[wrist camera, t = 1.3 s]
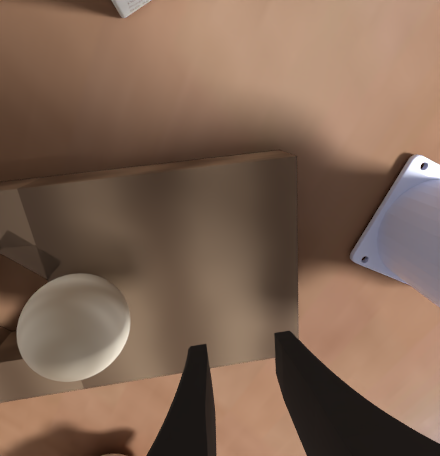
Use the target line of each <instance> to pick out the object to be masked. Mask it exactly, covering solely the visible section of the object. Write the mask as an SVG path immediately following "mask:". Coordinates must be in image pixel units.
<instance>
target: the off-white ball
mask: <svg viewBox="0 0 440 456" xmlns="http://www.w3.org/2000/svg"><path fill="white" fill-rule="evenodd" d="M129 331H130V311H129V307H128V304H127V301H126V299H125V297H124V296H123V294H122V293H121V292H120V290H119V289H118V288H117V287H116V286H115V285H114V284H112V283H111V282H109V281H108V280H106V279H104V278H102V277H99V276H96V275H92V274H85V273H78V274H69V275H65V276H62V277H59V278H56V279H54V280H52V281H50V282H48V283H47V284H45V285H44V286H42V287H41V288H40V289H38V290H37V291H36V292H35V293H34V294H33V295H32V296H31V298H30V299H29V300H28V302H27V303H26V305H25V306H24V308H23V310H22V312H21V315H20V317H19V320H18V325H17V344H18V348H19V351H20V354H21V356H22V358H23V359H24V361H25V362H26V363H27V365H28V366H29V367H30V368H31V369H32V370H33V371H35V372H36V373H37V374H39V375H41V376H43V377H45V378H48V379H51V380H55V381H61V382H72V381H78V380H83V379H86V378H89V377H91V376H94V375H95V374H97V373H99V372H101V371H102V370H104V369H105V368H106V367H108V366H109V365H110V364H111V363H112V362H113V361H114V360H115V359H116V358H117V356H118V355H119V354H120V352H121V351H122V349H123V347H124V345H125V343H126V341H127V338H128V335H129Z"/></svg>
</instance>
